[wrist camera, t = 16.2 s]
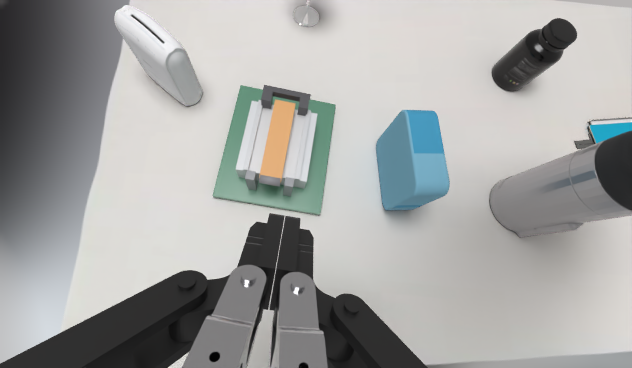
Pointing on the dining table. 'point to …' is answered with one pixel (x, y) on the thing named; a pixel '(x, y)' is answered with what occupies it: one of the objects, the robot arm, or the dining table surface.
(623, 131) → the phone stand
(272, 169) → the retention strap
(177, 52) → the photo printer
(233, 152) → the processor board
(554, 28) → the supplement bottle
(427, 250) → the dining table surface
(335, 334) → the robot arm
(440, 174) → the blue rounded block
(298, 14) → the wineglass
